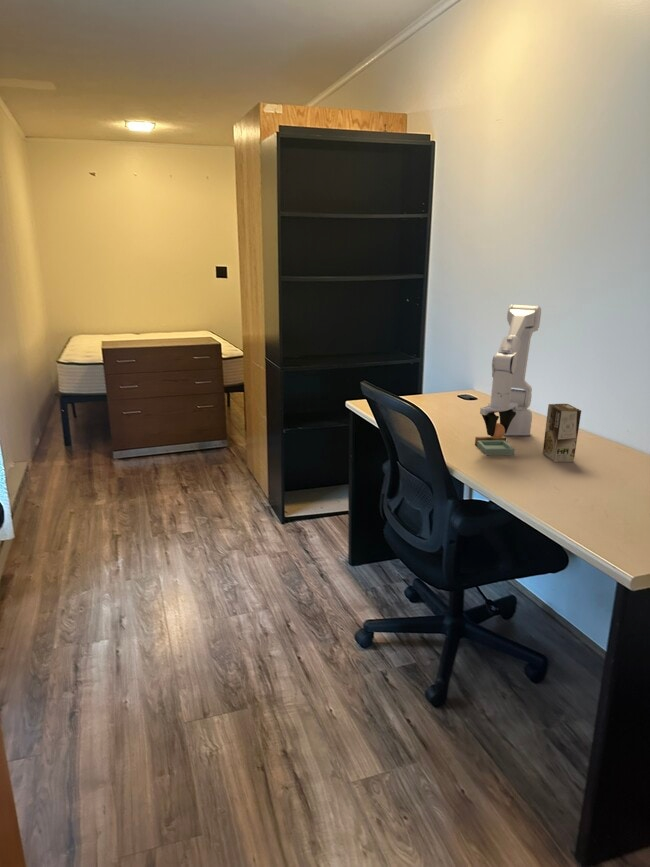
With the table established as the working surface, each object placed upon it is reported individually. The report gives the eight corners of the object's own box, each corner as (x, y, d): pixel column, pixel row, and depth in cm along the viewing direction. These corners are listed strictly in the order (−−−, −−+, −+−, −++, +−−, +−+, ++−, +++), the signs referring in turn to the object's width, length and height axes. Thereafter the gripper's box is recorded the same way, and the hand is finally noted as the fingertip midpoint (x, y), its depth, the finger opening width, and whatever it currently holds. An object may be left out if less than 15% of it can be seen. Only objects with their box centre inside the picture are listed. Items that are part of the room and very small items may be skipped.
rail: (504, 443, 196) (505, 436, 195) (505, 444, 194) (506, 437, 194) (474, 443, 195) (475, 436, 194) (476, 445, 194) (476, 437, 193)
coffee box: (574, 462, 179) (582, 410, 175) (554, 462, 179) (561, 410, 174) (561, 452, 188) (568, 403, 183) (541, 452, 188) (548, 403, 183)
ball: (495, 435, 191) (497, 420, 190) (507, 439, 187) (509, 424, 186) (484, 437, 189) (486, 422, 187) (495, 441, 185) (497, 426, 183)
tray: (503, 445, 194) (504, 440, 193) (514, 454, 185) (514, 449, 184) (476, 445, 193) (477, 440, 192) (485, 454, 184) (486, 449, 184)
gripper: (507, 387, 190) (503, 427, 194) (474, 391, 183) (470, 433, 187) (525, 391, 184) (520, 433, 188) (491, 396, 177) (487, 439, 181)
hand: (496, 434), depth 187 cm, fingers closed on ball, 5 cm apart
